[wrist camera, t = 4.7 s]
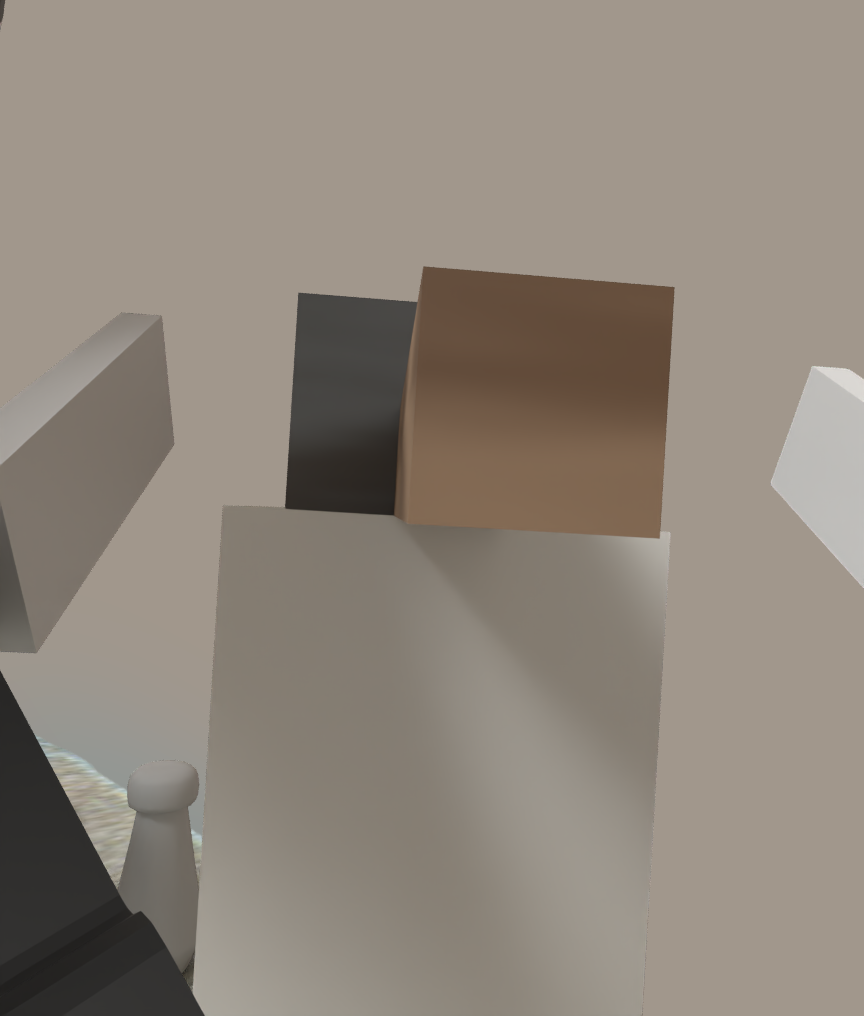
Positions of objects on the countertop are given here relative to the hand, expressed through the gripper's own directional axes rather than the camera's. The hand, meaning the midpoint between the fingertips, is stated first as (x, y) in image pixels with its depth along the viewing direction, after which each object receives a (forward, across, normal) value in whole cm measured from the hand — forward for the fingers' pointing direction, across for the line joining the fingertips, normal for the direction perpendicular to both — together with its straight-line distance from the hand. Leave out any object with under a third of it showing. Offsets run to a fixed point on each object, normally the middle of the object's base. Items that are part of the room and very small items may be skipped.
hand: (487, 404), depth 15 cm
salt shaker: (+12, -15, -45) cm, 49 cm away
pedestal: (-6, 0, -34) cm, 34 cm away
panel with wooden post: (+1, 0, -3) cm, 4 cm away
